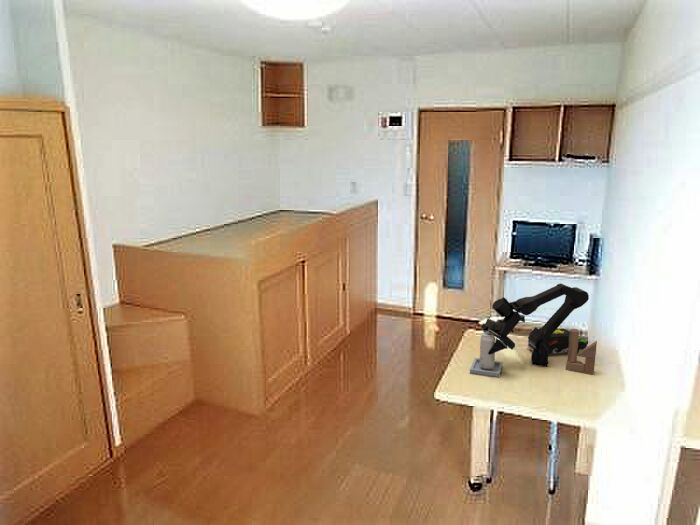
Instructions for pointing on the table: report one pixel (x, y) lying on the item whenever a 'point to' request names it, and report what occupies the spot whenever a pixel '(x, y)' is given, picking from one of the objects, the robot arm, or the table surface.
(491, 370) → the tray
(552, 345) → the toy van
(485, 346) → the energy drink can
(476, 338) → the table surface
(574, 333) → the brown angular piece
